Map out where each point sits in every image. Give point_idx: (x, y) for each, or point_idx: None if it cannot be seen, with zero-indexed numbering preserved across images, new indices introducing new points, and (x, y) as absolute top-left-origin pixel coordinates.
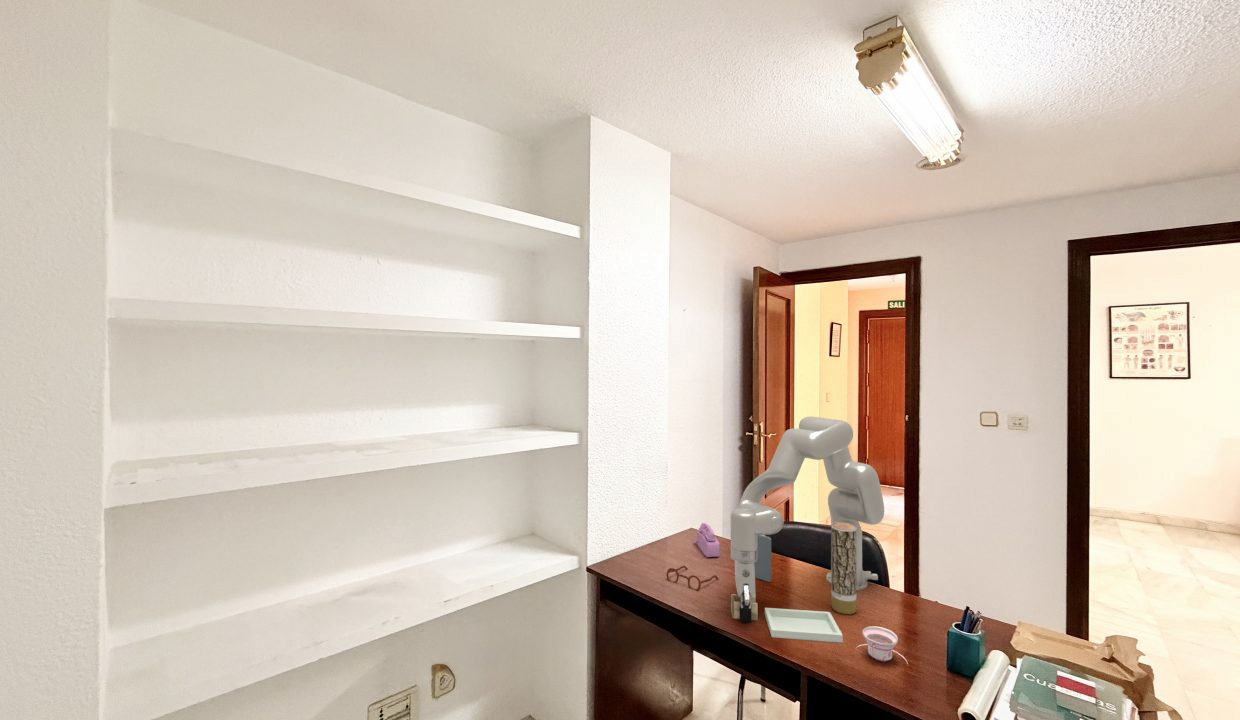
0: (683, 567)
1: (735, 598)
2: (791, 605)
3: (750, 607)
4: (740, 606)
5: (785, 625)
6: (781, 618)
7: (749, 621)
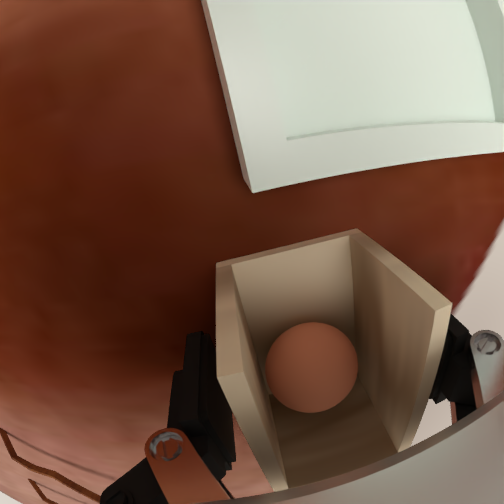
0: (50, 500)
1: (280, 457)
2: (2, 31)
3: (499, 339)
4: (438, 400)
5: (377, 18)
6: (273, 30)
7: None
